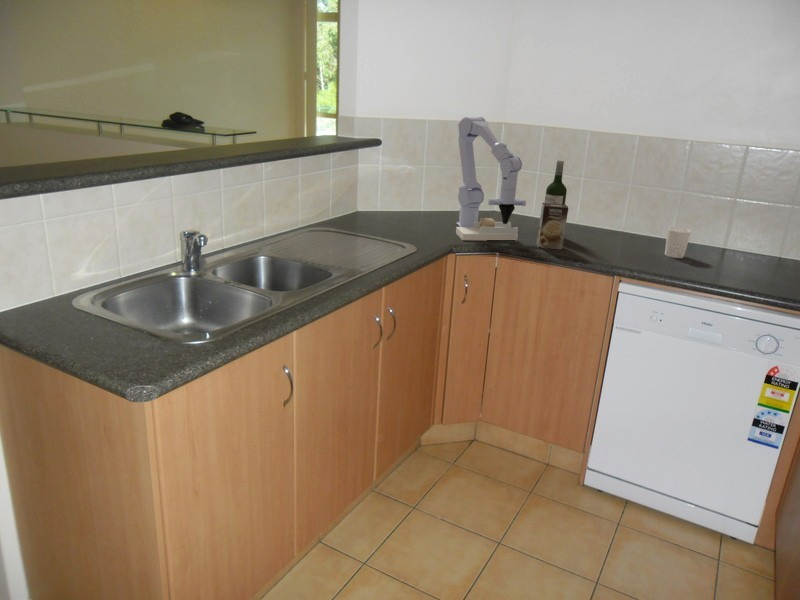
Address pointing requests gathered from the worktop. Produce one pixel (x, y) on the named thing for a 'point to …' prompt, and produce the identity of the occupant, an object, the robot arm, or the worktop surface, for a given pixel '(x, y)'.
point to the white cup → (676, 242)
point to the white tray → (488, 232)
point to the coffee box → (552, 226)
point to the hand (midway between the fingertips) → (504, 223)
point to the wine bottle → (556, 187)
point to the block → (487, 222)
